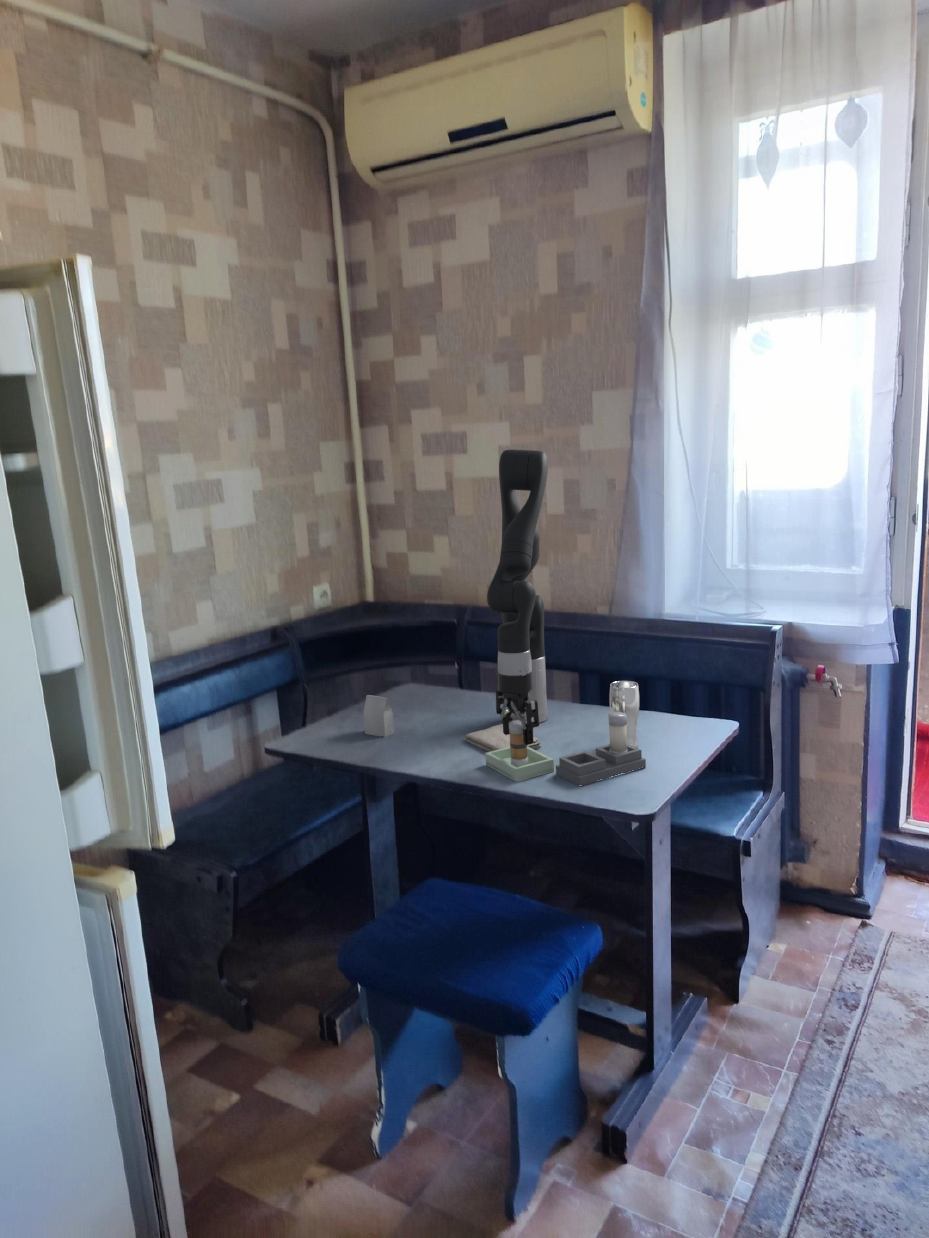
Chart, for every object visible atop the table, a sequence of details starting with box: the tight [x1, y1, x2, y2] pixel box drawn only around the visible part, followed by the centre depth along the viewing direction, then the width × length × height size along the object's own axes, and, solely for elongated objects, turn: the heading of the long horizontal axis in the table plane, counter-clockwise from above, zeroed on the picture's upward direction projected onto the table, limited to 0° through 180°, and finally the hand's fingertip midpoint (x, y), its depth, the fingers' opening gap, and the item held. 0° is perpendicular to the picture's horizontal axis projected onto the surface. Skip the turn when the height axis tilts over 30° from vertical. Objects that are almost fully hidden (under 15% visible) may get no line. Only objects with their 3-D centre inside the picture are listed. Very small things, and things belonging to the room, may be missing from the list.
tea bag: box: [362, 694, 395, 738], centre depth 235 cm, size 4×7×10 cm, turn 56°
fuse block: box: [555, 743, 647, 786], centre depth 201 cm, size 9×18×4 cm, turn 119°
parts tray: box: [485, 746, 555, 782], centre depth 206 cm, size 13×10×3 cm
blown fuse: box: [509, 720, 528, 767], centre depth 205 cm, size 4×4×10 cm
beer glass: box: [609, 680, 640, 748], centre depth 216 cm, size 7×7×15 cm
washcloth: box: [464, 723, 542, 752], centre depth 222 cm, size 12×18×3 cm, turn 34°
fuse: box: [608, 712, 628, 755], centre depth 202 cm, size 4×4×10 cm
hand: (518, 738), depth 205 cm, fingers open, 8 cm apart
